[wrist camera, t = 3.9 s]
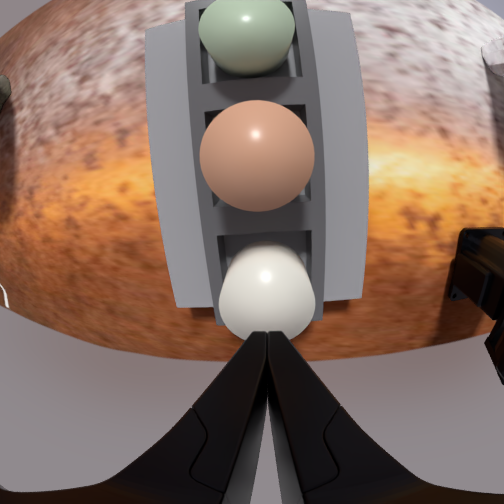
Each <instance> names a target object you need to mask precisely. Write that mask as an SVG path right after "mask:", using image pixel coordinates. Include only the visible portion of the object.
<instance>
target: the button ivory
mask: <svg viewBox="0 0 504 504" xmlns="http://www.w3.org/2000/svg"><path fill="white" fill-rule="evenodd" d="M219 311H220V315H221V317H222V320H223V322H224V323H225V325H226V326H227V327H228V329H229V330H230V331H231V332H233V333H234V334H235V335H236V336H238V337H240V338H241V339H244V340H246V339H247V338H248V336H249V335H250V334H251V332H253V331H266V332H267V333H268V331H277V330H281V331H283V333H284V334H285V335H286V336H287V338H288V339H289V340H290V339H292V338H294V337H295V336H297V335H298V334H300V333H301V332H302V331H303V330H304V329H305V328H306V327H307V326H308V324H309V323H310V321H311V319H312V317H313V315H314V311H315V296H314V292H313V289H312V286H311V283H310V280H309V277H308V274H307V270H306V267H305V265H304V262H303V260H302V259H301V257H300V256H299V254H298V253H297V252H296V251H295V250H293V249H292V248H291V247H289V246H287V245H285V244H283V243H280V242H276V241H258V242H254V243H251V244H249V245H247V246H245V247H243V248H242V249H241V250H239V251H238V252H237V253H236V254H235V255H234V257H233V258H232V260H231V262H230V264H229V266H228V269H227V273H226V276H225V280H224V283H223V286H222V290H221V293H220V298H219Z"/></svg>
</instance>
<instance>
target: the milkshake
mask: <svg viewBox="0 0 504 504" xmlns="http://www.w3.org/2000/svg"><path fill="white" fill-rule="evenodd" d="M481 48H482V56H483V58H484V60H485V62H486V64H487V66H488V67H489V69H490V70H491V71H492V72H493V73H494V74H496V75H499V76H504V35H503V36H500V37H498V38H496V39H493V40H491V41H489V42H487V43H485V44H484V45H483V46H482V47H481Z"/></svg>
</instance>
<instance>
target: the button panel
mask: <svg viewBox="0 0 504 504" xmlns="http://www.w3.org/2000/svg"><path fill="white" fill-rule="evenodd" d="M214 1H216V0H196V1H191V2H186V3H185V19H184V20H180V21H176V22H171V23H168V24H164V25H160V26H156V27H153V28H149V29H146V31H145V80H146V104H147V120H148V133H149V144H150V154H151V164H152V172H153V180H154V188H155V195H156V202H157V209H158V215H159V221H160V227H161V233H162V239H163V244H164V249H165V255H166V260H167V265H168V269H169V274H170V279H171V283H172V288H173V292H174V297H175V301H176V305H177V307H214V313H215V318H216V324H217V325H225V323H224V322H223V320H222V317H221V315H220V311H219V298H220V293H221V290H222V286H223V283H224V280H225V276H226V273H227V269H228V266H229V264H230V262H231V260H232V258H233V257H234V255H235V254H236V253H237V252H238V251H239V250H241V249H242V248H243V247H245V246H247V245H249V244H251V243H254V242H258V241H276V242H280V243H283V244H285V245H287V246H289V247H291V248H292V249H293V250H295V251H296V252H297V253H298V254H299V256H300V257H301V259H302V260H303V262H304V265H305V267H306V270H307V274H308V277H309V280H310V283H311V286H312V289H313V292H314V296H315V311H314V315H313V317H312V319H311V321H318V320H322V317H323V301H335V300H346V299H356V298H361V297H362V288H363V280H364V270H365V259H366V245H367V229H368V199H369V169H368V140H367V124H366V111H365V101H364V92H363V83H362V76H361V69H360V62H359V56H358V50H357V44H356V39H355V34H354V29H353V25H352V20H351V16H350V13H345V12H337V11H327V10H313V9H307V5H306V0H280V1H282V2H283V3H284V4H285V5H286V6H287V7H288V8H289V10H290V11H291V13H292V15H293V17H294V21H295V30H294V34H293V38H292V42H291V46H290V50H289V53H288V56H287V58H286V60H285V62H284V63H283V64H282V66H281V67H279V68H278V69H277V70H276V71H274V72H273V73H271V74H269V75H266V76H263V77H259V78H252V79H246V78H238V77H235V76H231V75H229V74H227V73H225V72H224V71H222V70H221V69H220V68H219V67H218V66H217V65H216V64H215V62H214V61H213V59H212V58H211V56H210V54H209V53H208V51H207V49H206V48H205V46H204V44H203V43H202V41H201V39H200V36H199V30H198V28H199V21H200V18H201V16H202V14H203V13H204V11H205V10H206V9H207V7H208V6H209V5H211V4H212V3H213V2H214ZM251 100H262V101H269V102H273V103H276V104H279V105H281V106H283V107H285V108H287V109H289V110H290V111H291V112H293V113H294V114H295V115H296V116H297V117H298V118H299V119H300V120H301V121H302V122H303V123H304V125H305V126H306V128H307V130H308V131H309V133H310V136H311V138H312V142H313V145H314V153H315V154H314V167H313V171H312V174H311V177H310V179H309V181H308V183H307V184H306V186H305V188H304V189H303V190H302V191H301V193H300V194H299V195H298V196H297V197H295V198H294V199H293V200H292V201H290V202H289V203H287V204H285V205H283V206H281V207H279V208H276V209H273V210H269V211H262V212H253V211H246V210H242V209H238V208H236V207H233V206H231V205H229V204H227V203H226V202H224V201H223V200H221V199H220V198H219V197H218V196H217V195H216V194H215V193H214V192H213V191H212V190H211V188H210V187H209V185H208V184H207V182H206V180H205V178H204V176H203V173H202V170H201V165H200V146H201V142H202V138H203V136H204V133H205V131H206V129H207V128H208V126H209V125H210V123H211V122H212V121H213V119H214V118H215V117H216V116H217V115H218V114H220V113H221V112H222V111H224V110H225V109H227V108H229V107H230V106H233V105H235V104H237V103H241V102H245V101H251Z"/></svg>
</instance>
